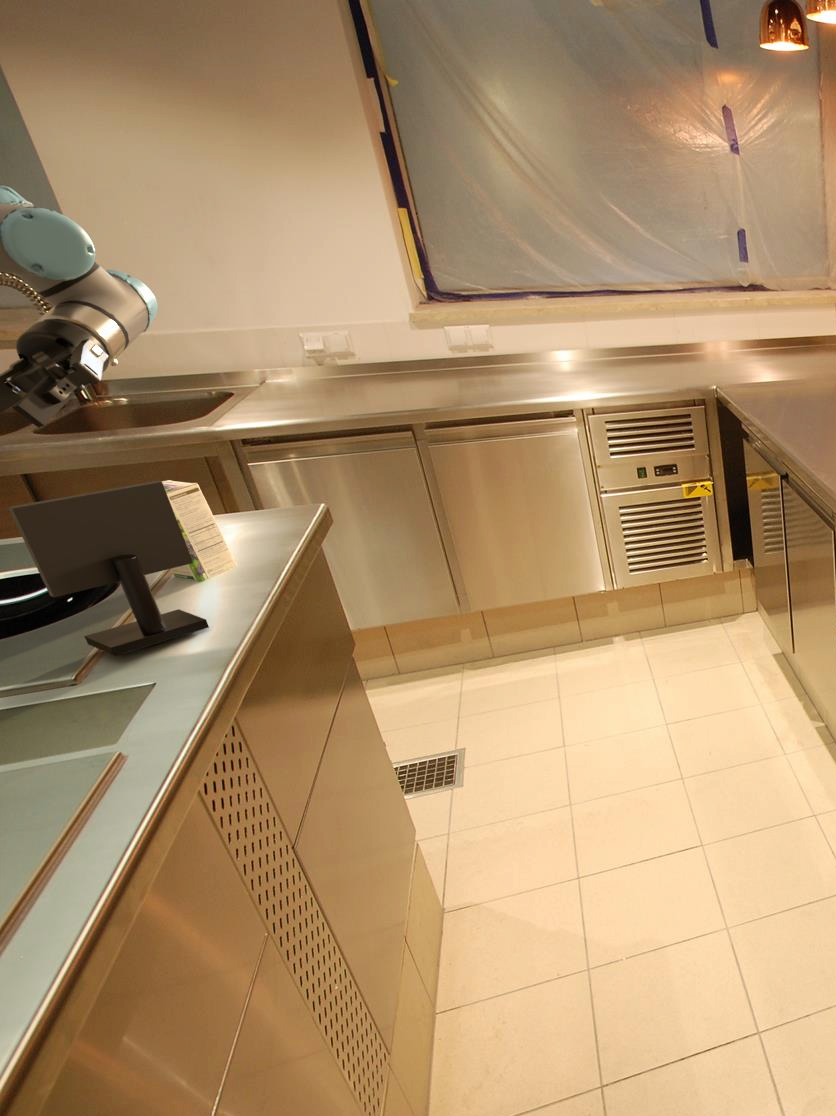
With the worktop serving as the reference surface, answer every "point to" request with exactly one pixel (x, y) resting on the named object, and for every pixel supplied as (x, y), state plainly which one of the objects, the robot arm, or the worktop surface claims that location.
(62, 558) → the monitor screen
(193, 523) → the syrup box
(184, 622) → the monitor stand
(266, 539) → the worktop surface
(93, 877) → the worktop surface
